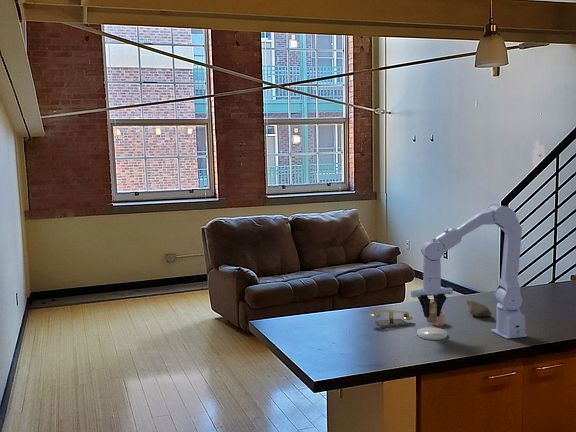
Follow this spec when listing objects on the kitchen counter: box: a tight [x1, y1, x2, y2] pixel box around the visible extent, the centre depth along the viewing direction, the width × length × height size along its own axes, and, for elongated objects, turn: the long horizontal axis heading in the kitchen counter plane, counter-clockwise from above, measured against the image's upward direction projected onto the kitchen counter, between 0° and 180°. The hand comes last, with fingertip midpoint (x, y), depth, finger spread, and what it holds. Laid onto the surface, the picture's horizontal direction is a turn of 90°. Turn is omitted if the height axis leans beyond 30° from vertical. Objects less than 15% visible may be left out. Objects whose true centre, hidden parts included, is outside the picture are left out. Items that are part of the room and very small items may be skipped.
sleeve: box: [428, 310, 446, 327], centre depth 213 cm, size 6×6×4 cm
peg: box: [426, 300, 437, 323], centre depth 199 cm, size 3×3×6 cm
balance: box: [368, 308, 414, 329], centre depth 213 cm, size 6×17×6 cm, turn 103°
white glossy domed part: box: [416, 326, 448, 341], centre depth 200 cm, size 10×10×1 cm
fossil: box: [466, 298, 492, 318], centre depth 221 cm, size 9×4×10 cm
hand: (431, 316), depth 199 cm, fingers closed on peg, 3 cm apart
